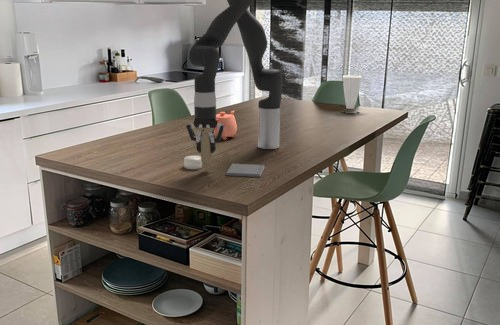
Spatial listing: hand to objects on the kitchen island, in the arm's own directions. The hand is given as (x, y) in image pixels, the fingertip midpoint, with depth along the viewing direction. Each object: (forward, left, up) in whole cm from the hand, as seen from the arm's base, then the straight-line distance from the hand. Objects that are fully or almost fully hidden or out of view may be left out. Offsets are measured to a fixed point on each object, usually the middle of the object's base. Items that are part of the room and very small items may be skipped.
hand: (206, 152), depth 183 cm
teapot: (-58, -5, -8) cm, 58 cm away
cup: (-141, +57, -7) cm, 152 cm away
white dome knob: (-6, -6, -7) cm, 11 cm away
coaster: (-3, +14, -7) cm, 16 cm away
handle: (0, 0, -6) cm, 6 cm away
